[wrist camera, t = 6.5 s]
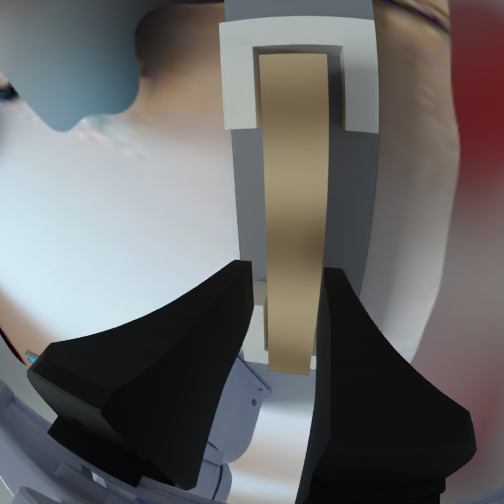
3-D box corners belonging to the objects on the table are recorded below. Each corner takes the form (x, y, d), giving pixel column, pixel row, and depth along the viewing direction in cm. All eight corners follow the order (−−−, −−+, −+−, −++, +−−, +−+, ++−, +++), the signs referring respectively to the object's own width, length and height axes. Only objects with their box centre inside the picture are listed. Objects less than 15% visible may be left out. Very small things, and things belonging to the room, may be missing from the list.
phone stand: (43, 376, 53) (40, 380, 51) (19, 342, 47) (15, 346, 46) (91, 400, 47) (87, 405, 46) (62, 363, 42) (57, 368, 40)
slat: (315, 320, 20) (308, 375, 15) (282, 317, 20) (268, 370, 16) (325, 71, 12) (326, 53, 8) (279, 71, 13) (259, 54, 8)
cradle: (342, 358, 22) (341, 391, 19) (250, 348, 24) (240, 379, 21) (368, 2, 10) (378, -21, 7) (229, 4, 12) (207, -15, 9)
